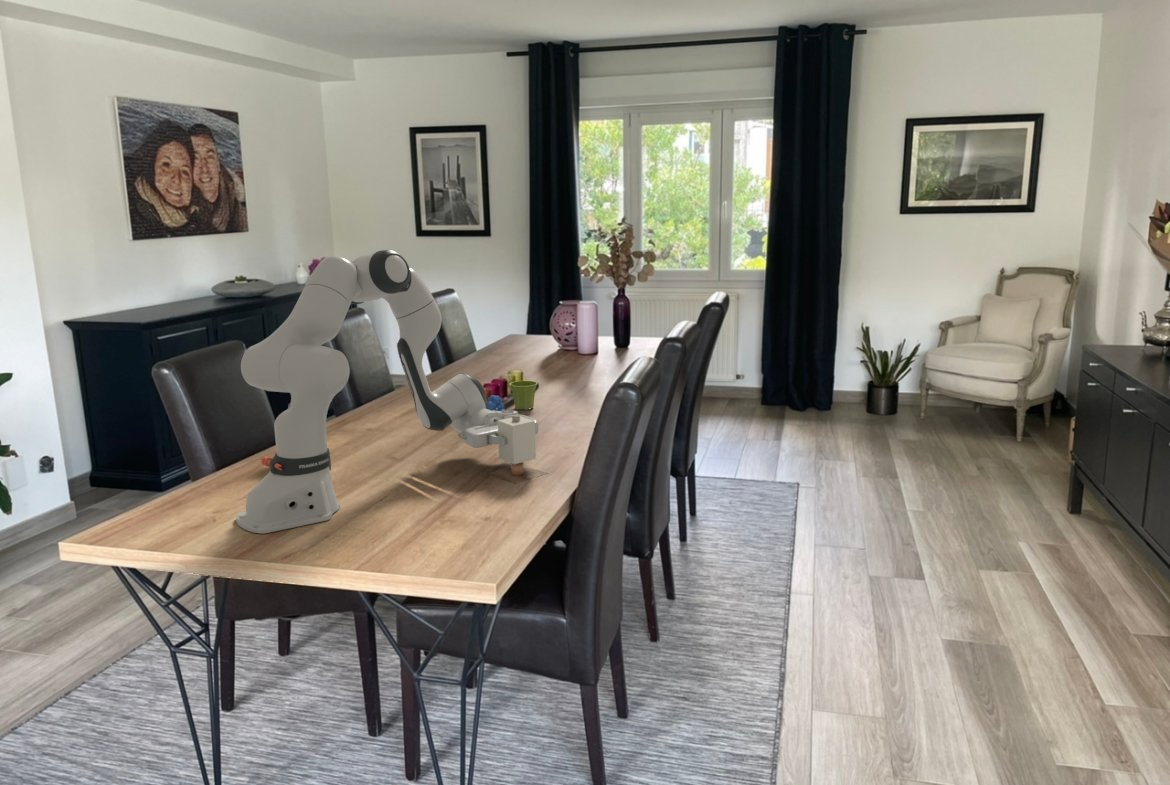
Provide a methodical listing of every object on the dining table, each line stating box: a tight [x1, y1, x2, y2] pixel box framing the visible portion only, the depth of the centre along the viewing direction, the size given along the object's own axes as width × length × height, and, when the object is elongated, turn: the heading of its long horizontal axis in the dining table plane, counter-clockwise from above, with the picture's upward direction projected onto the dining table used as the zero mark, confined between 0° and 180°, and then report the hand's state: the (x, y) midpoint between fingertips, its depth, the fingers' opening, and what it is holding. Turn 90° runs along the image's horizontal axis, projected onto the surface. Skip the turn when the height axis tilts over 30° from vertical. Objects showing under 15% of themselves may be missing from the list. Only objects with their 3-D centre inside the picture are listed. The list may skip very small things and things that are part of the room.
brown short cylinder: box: [510, 462, 525, 476], centre depth 220 cm, size 3×3×3 cm
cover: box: [498, 414, 537, 464], centre depth 218 cm, size 7×7×11 cm
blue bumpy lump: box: [485, 394, 507, 411], centre depth 260 cm, size 12×7×12 cm, turn 164°
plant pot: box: [508, 380, 538, 410], centre depth 290 cm, size 9×9×9 cm
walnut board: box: [487, 464, 549, 484], centre depth 220 cm, size 11×11×1 cm
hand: (518, 438), depth 217 cm, fingers closed on cover, 7 cm apart
